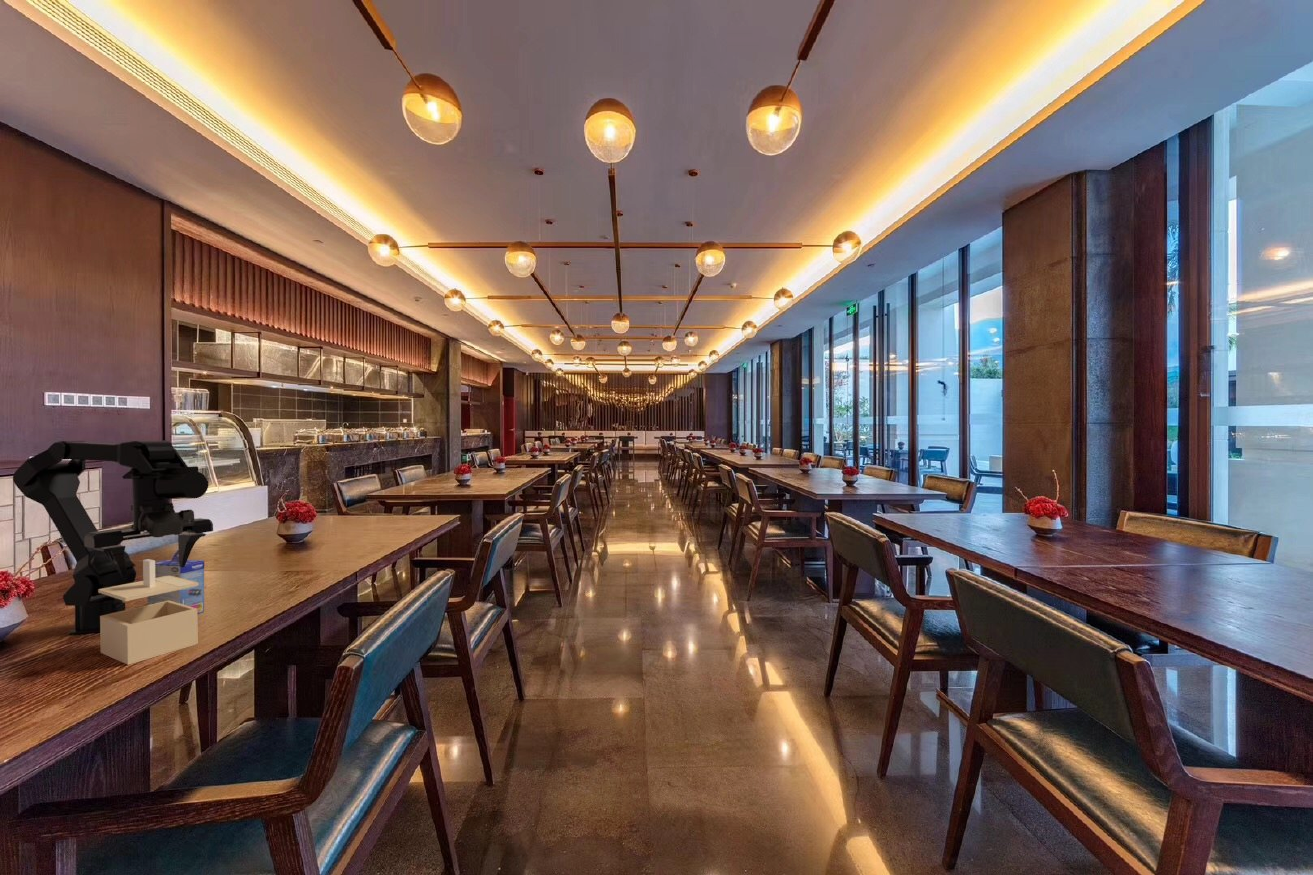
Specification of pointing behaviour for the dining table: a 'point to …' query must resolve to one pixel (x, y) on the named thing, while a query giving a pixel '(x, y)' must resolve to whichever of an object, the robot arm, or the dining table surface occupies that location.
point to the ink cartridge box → (189, 572)
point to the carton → (148, 631)
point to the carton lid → (147, 585)
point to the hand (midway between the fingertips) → (154, 572)
